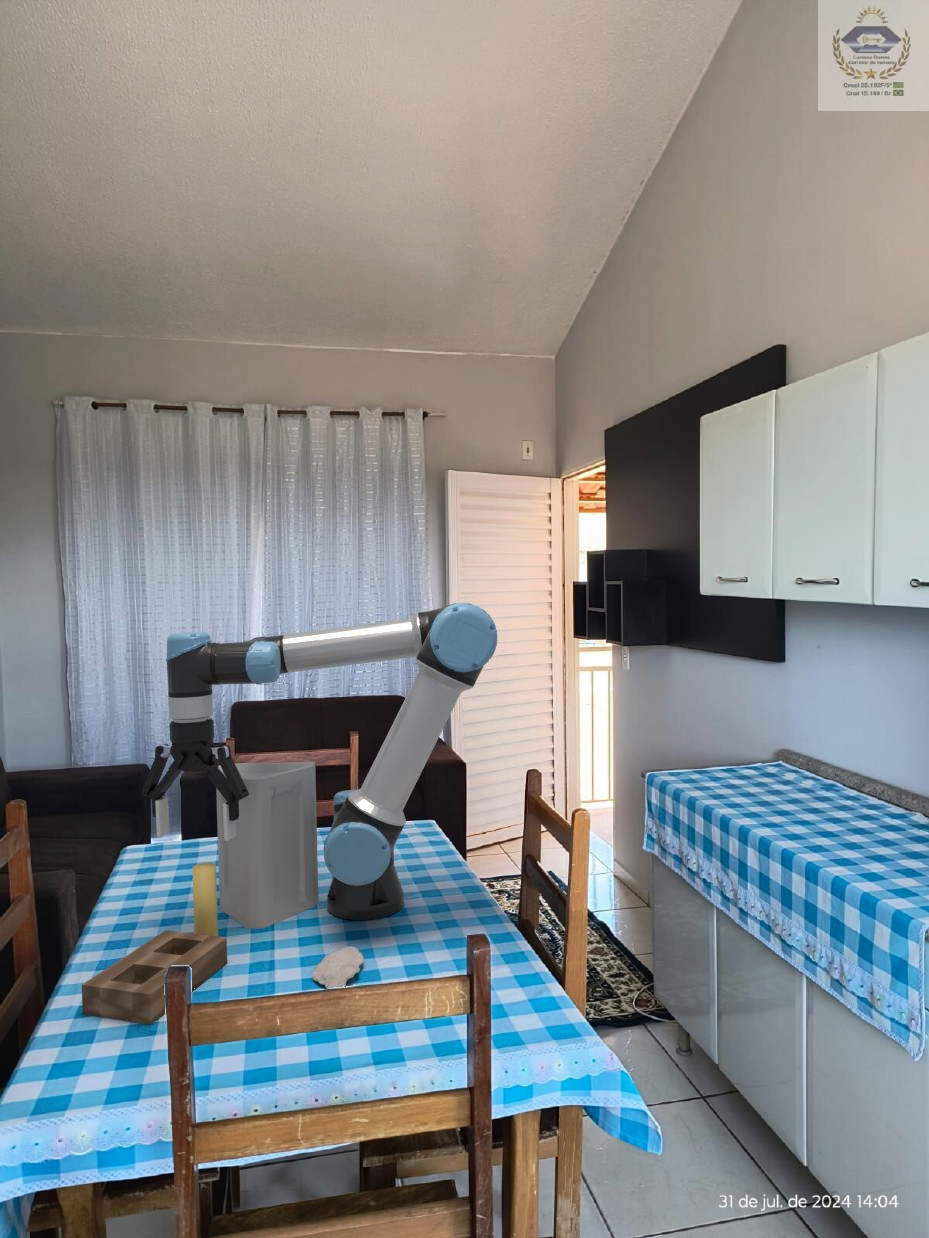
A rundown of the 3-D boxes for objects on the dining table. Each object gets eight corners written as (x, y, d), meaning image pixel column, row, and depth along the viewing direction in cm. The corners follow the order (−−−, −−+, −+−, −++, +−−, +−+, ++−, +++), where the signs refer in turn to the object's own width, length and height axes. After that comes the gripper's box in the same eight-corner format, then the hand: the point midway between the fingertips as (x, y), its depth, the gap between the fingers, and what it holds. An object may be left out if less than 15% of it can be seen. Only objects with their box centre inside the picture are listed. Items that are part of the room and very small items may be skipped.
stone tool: (361, 996, 126) (364, 959, 141) (362, 976, 126) (365, 941, 141) (308, 997, 125) (316, 959, 140) (309, 976, 126) (317, 941, 140)
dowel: (222, 940, 147) (220, 863, 147) (209, 949, 143) (207, 870, 143) (203, 937, 148) (200, 861, 148) (190, 947, 145) (187, 869, 144)
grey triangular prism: (203, 930, 152) (199, 780, 151) (225, 899, 167) (221, 763, 166) (306, 927, 152) (303, 778, 151) (319, 897, 167) (315, 761, 166)
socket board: (227, 963, 138) (226, 937, 138) (151, 1024, 119) (150, 994, 119) (166, 955, 141) (165, 930, 141) (82, 1014, 122) (81, 984, 122)
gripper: (264, 716, 146) (269, 833, 147) (144, 714, 153) (149, 826, 153) (243, 723, 139) (248, 846, 140) (117, 721, 145) (122, 839, 146)
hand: (196, 836), depth 147 cm, fingers open, 13 cm apart
